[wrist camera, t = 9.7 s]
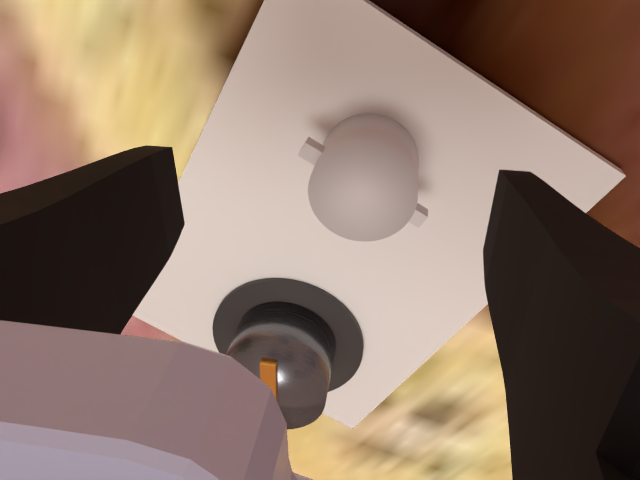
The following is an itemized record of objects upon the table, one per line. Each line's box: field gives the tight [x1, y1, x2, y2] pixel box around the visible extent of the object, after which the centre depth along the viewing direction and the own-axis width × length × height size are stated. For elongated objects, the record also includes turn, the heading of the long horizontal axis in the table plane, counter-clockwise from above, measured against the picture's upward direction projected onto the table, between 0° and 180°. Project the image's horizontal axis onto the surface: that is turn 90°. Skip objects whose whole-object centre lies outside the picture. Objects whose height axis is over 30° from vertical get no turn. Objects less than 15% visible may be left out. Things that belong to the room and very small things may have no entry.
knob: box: [226, 302, 336, 429], centre depth 26 cm, size 5×5×4 cm
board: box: [133, 0, 626, 429], centre depth 24 cm, size 15×20×4 cm
